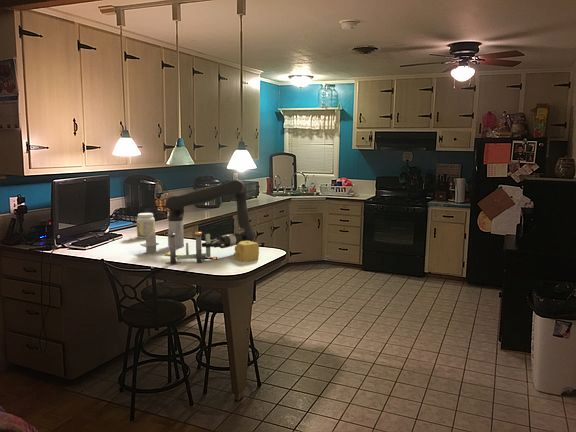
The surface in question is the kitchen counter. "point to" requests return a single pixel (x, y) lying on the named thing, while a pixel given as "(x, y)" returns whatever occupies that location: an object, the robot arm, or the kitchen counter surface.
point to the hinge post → (172, 250)
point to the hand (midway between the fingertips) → (204, 245)
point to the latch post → (198, 247)
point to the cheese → (246, 251)
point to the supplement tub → (145, 225)
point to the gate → (195, 254)
